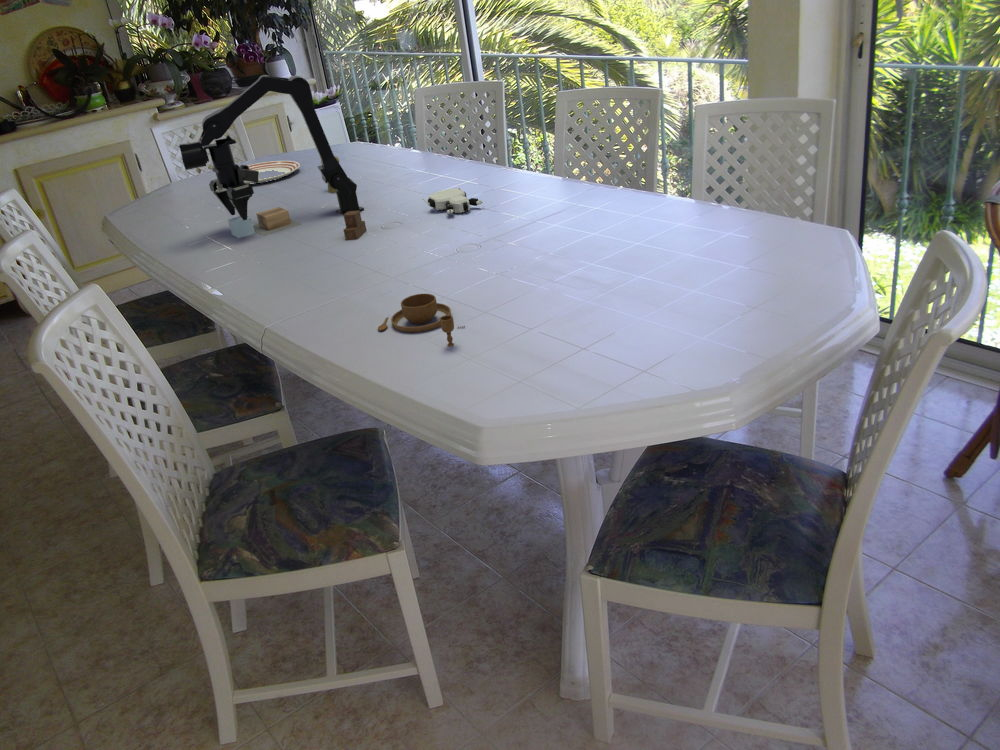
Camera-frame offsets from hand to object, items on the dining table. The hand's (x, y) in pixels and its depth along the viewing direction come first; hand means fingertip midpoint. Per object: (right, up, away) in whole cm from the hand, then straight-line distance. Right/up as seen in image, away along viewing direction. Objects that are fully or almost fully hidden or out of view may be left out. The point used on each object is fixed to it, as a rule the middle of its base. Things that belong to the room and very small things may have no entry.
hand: (239, 217), depth 232 cm
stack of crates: (+37, -8, -12) cm, 40 cm away
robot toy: (+61, +1, -2) cm, 61 cm away
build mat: (+8, -2, +6) cm, 10 cm away
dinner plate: (-13, +28, +69) cm, 75 cm away
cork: (+21, +16, +36) cm, 45 cm away
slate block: (+1, -5, +2) cm, 5 cm away
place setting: (+59, -37, -74) cm, 101 cm away
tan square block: (+9, -1, +6) cm, 11 cm away
